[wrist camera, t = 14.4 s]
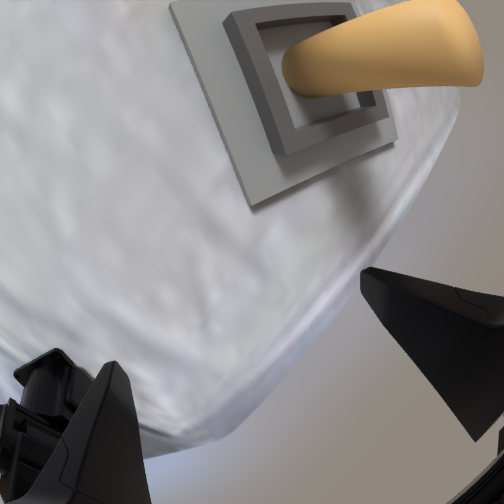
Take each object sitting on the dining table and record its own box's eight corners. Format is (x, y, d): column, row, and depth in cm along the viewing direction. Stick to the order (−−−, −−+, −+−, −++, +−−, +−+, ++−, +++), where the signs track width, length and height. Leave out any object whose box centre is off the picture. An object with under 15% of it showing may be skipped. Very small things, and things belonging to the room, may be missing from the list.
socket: (247, 203, 21) (263, 212, 19) (168, 7, 14) (174, -11, 11) (392, 138, 24) (414, 140, 22) (341, -13, 17) (360, -22, 15)
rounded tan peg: (274, 84, 18) (434, 46, 7) (289, 34, 17) (433, -25, 6) (326, 107, 20) (482, 104, 9) (337, 59, 19) (482, 34, 8)
